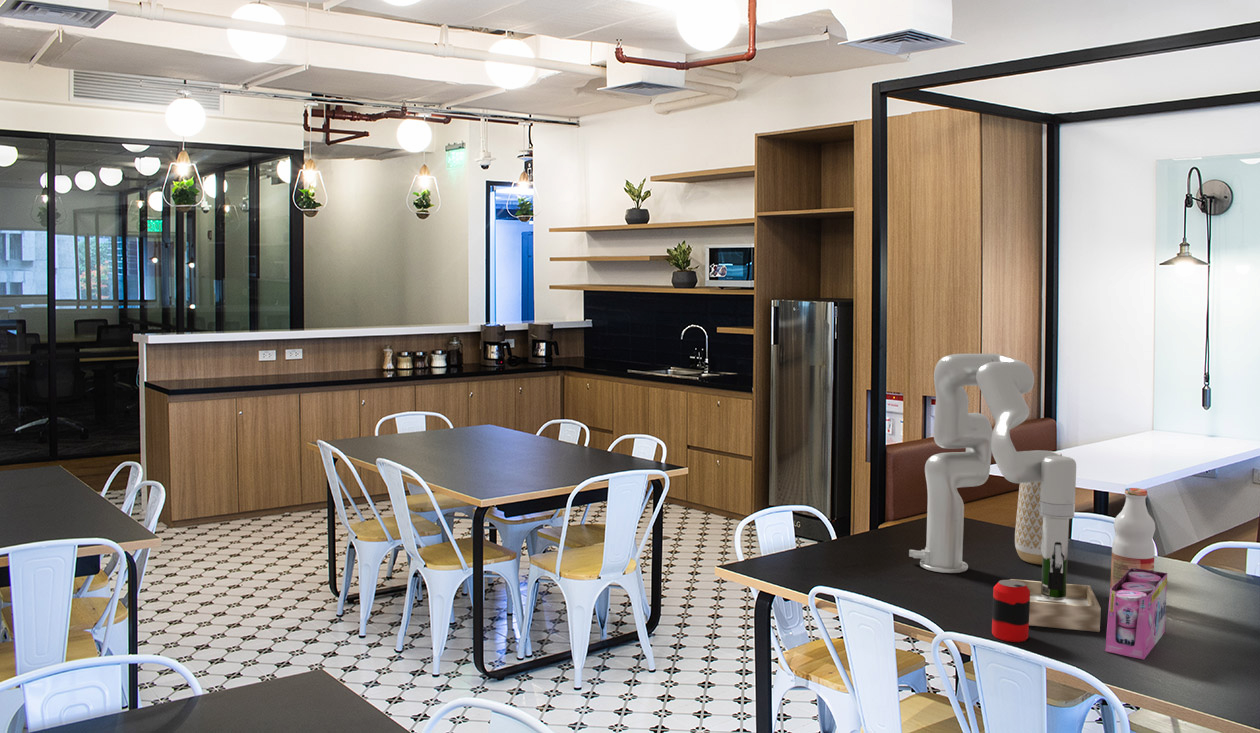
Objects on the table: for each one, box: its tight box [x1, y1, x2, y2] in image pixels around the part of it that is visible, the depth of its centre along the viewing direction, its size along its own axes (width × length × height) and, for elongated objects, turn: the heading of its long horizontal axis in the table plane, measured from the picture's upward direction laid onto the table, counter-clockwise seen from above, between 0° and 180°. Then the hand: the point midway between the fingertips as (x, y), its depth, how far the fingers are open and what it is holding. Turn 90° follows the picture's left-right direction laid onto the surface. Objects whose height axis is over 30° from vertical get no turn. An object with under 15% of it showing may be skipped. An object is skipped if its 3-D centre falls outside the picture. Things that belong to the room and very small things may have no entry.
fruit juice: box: [1109, 487, 1156, 590], centre depth 255 cm, size 9×9×28 cm
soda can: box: [991, 579, 1030, 643], centre depth 230 cm, size 8×8×12 cm
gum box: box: [1105, 568, 1169, 660], centre depth 227 cm, size 24×8×14 cm, turn 143°
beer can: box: [1041, 545, 1069, 600], centre depth 244 cm, size 5×5×12 cm
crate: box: [1009, 578, 1102, 633], centre depth 245 cm, size 18×18×6 cm
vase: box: [1014, 449, 1063, 566], centre depth 292 cm, size 14×14×31 cm
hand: (1053, 584), depth 244 cm, fingers closed on beer can, 5 cm apart
